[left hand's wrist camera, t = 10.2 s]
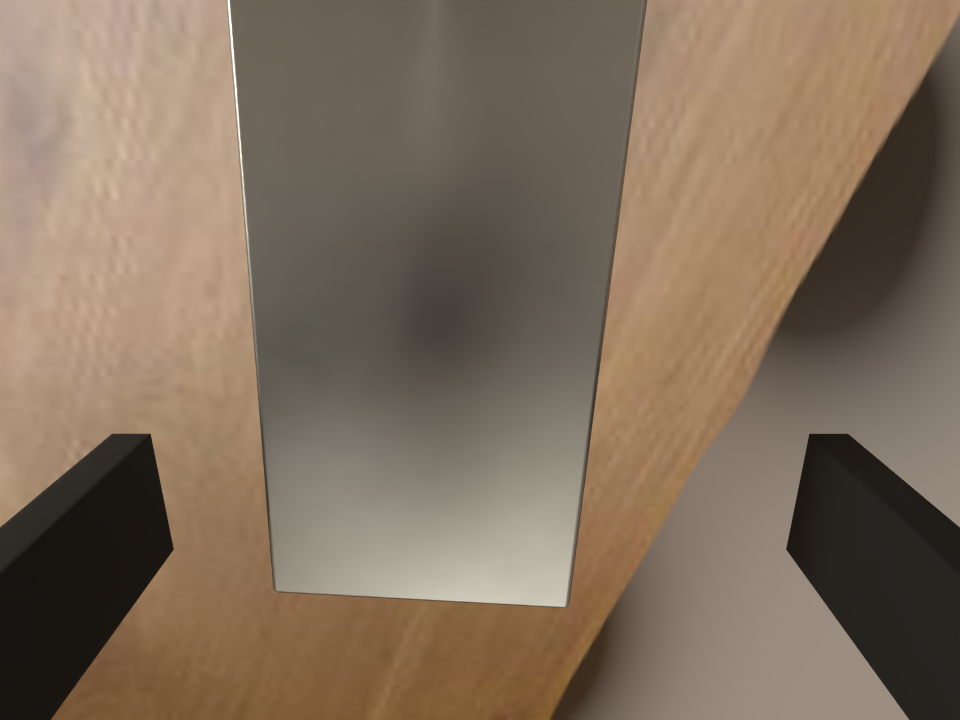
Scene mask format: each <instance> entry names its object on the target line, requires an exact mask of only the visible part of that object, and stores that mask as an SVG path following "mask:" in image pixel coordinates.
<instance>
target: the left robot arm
mask: <svg viewBox="0 0 960 720" xmlns="http://www.w3.org/2000/svg"><path fill="white" fill-rule="evenodd" d="M173 550H174V548H173V543H172V538H171V534H170V529H169V524H168V519H167V514H166V509H165V504H164V499H163V494H162V489H161V484H160V479H159V474H158V469H157V464H156V459H155V454H154V449H153V444H152V439H151V434H111V435H110V436H109V437H108V438H107V439H105V440H104V441H103V442H102V443H101V444H99V445H98V446H97V447H96V448H95V449H93V450H92V451H91V452H90V453H89V454H87V455H86V456H85V457H84V458H83V459H82V460H80V461H79V462H78V463H77V464H76V465H74V466H73V467H72V468H71V469H70V470H68V471H67V472H66V473H65V474H64V475H62V476H61V477H60V478H59V479H58V480H56V481H55V482H54V483H53V484H52V485H50V486H49V487H48V488H47V489H46V490H45V491H43V492H42V493H41V494H40V495H39V496H37V497H36V498H35V499H34V500H33V501H31V502H30V503H29V504H28V505H27V506H25V507H24V508H23V509H22V510H21V511H19V512H18V513H17V514H16V515H15V516H13V517H12V518H11V519H10V520H9V521H8V522H6V523H5V524H4V525H3V526H2V527H0V720H51V718H52V717H53V716H54V714H55V713H56V712H57V710H58V709H59V707H60V706H61V705H62V703H63V702H64V700H65V699H66V698H67V696H68V695H69V694H70V692H71V691H72V689H73V688H74V687H75V685H76V684H77V683H78V681H79V680H80V678H81V677H82V676H83V674H84V673H85V671H86V670H87V669H88V667H89V666H90V665H91V663H92V662H93V660H94V659H95V658H96V656H97V655H98V653H99V652H100V651H101V649H102V648H103V647H104V645H105V644H106V642H107V641H108V640H109V638H110V637H111V635H112V634H113V633H114V631H115V630H116V629H117V627H118V626H119V624H120V623H121V622H122V620H123V619H124V617H125V616H126V615H127V613H128V612H129V611H130V609H131V608H132V606H133V605H134V604H135V602H136V601H137V599H138V598H139V597H140V595H141V594H142V593H143V591H144V590H145V588H146V587H147V586H148V584H149V583H150V582H151V580H152V579H153V577H154V576H155V575H156V573H157V572H158V570H159V569H160V568H161V566H162V565H163V564H164V562H165V561H166V559H167V558H168V557H169V555H170V554H171V552H172V551H173ZM786 550H787V551H788V552H789V554H790V555H791V557H792V558H793V559H794V561H795V562H796V564H797V565H798V566H799V568H800V569H801V570H802V572H803V573H804V575H805V576H806V577H807V579H808V580H809V582H810V583H811V584H812V586H813V587H814V588H815V590H816V591H817V592H818V594H819V595H820V597H821V598H822V599H823V601H824V602H825V604H826V605H827V606H828V608H829V609H830V611H831V612H832V613H833V615H834V616H835V617H836V619H837V620H838V622H839V623H840V624H841V626H842V627H843V629H844V630H845V631H846V633H847V634H848V635H849V637H850V638H851V640H852V641H853V642H854V644H855V645H856V647H857V648H858V649H859V651H860V652H861V653H862V655H863V656H864V658H865V659H866V660H867V662H868V663H869V665H870V666H871V667H872V669H873V670H874V671H875V673H876V674H877V676H878V677H879V678H880V680H881V681H882V683H883V684H884V685H885V687H886V688H887V689H888V691H889V692H890V694H891V695H892V696H893V698H894V699H895V700H896V702H897V703H898V705H899V706H900V707H901V709H902V710H903V711H904V713H905V714H906V716H907V717H908V718H909V720H960V527H958V526H957V525H956V524H955V523H954V522H952V521H951V520H950V519H949V518H948V517H947V516H945V515H944V514H943V513H942V512H941V511H939V510H938V509H937V508H936V507H935V506H933V505H932V504H931V503H930V502H929V501H927V500H926V499H925V498H924V497H923V496H921V495H920V494H919V493H918V492H917V491H915V490H914V489H913V488H912V487H911V486H910V485H908V484H907V483H906V482H905V481H904V480H902V479H901V478H900V477H899V476H898V475H896V474H895V473H894V472H893V471H892V470H890V469H889V468H888V467H887V466H886V465H884V464H883V463H882V462H881V461H880V460H878V459H877V458H876V457H875V456H874V455H873V454H871V453H870V452H869V451H868V450H867V449H865V448H864V447H863V446H862V445H861V444H859V443H858V442H857V441H856V440H855V439H853V438H852V437H851V436H850V435H849V434H809V439H808V444H807V449H806V454H805V459H804V464H803V469H802V474H801V479H800V484H799V489H798V494H797V499H796V504H795V509H794V514H793V519H792V524H791V529H790V534H789V538H788V543H787V548H786Z"/></svg>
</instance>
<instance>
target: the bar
mask: <svg viewBox="0 0 960 720" xmlns="http://www.w3.org/2000/svg"><path fill="white" fill-rule="evenodd" d="M646 5H647V0H227V10H228V23H229V35H230V48H231V61H232V73H233V86H234V98H235V111H236V123H237V136H238V149H239V161H240V174H241V186H242V199H243V212H244V224H245V237H246V249H247V262H248V275H249V287H250V300H251V312H252V325H253V338H254V350H255V363H256V375H257V388H258V400H259V413H260V426H261V438H262V451H263V463H264V476H265V489H266V501H267V514H268V526H269V539H270V552H271V564H272V577H273V588H274V591H276V592H283V593H302V594H320V595H338V596H356V597H375V598H393V599H411V600H429V601H447V602H466V603H484V604H502V605H520V606H539V607H557V608H566V607H567V606H568V604H569V601H570V593H571V585H572V577H573V570H574V562H575V554H576V546H577V539H578V531H579V523H580V516H581V508H582V500H583V492H584V485H585V477H586V469H587V461H588V454H589V446H590V438H591V430H592V423H593V415H594V407H595V400H596V392H597V384H598V376H599V369H600V361H601V353H602V345H603V338H604V330H605V322H606V314H607V307H608V299H609V291H610V284H611V276H612V268H613V260H614V253H615V245H616V237H617V229H618V222H619V214H620V206H621V199H622V191H623V183H624V175H625V168H626V160H627V152H628V144H629V137H630V129H631V121H632V113H633V106H634V98H635V90H636V83H637V75H638V67H639V59H640V52H641V44H642V36H643V28H644V21H645V13H646Z"/></svg>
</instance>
